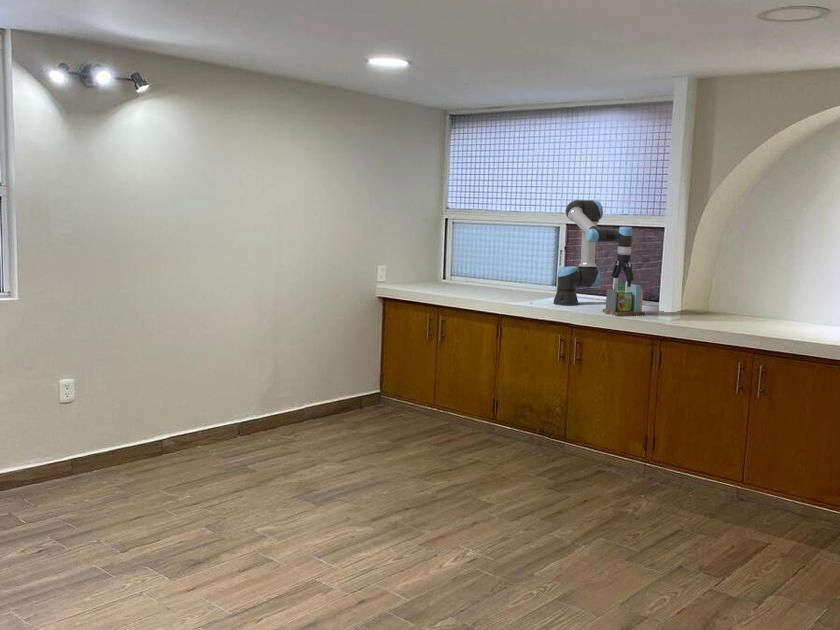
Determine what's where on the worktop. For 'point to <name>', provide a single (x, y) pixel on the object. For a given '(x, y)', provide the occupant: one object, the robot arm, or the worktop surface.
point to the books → (636, 298)
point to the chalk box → (623, 299)
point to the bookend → (611, 300)
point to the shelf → (624, 313)
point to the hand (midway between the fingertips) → (621, 290)
